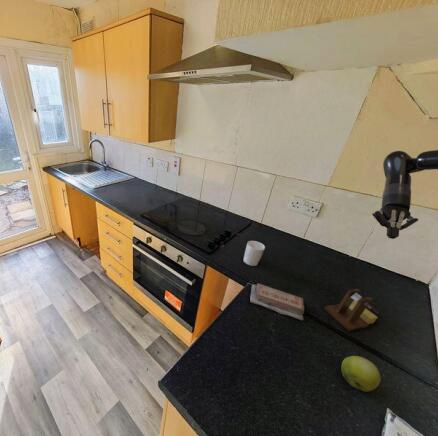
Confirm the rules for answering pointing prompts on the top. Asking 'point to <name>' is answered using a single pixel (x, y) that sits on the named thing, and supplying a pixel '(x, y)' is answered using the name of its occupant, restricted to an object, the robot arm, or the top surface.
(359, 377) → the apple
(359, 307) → the brown pronged stand
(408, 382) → the top surface
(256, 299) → the packaged product
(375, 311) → the grey t-shaped tool
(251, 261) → the white cup
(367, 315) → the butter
